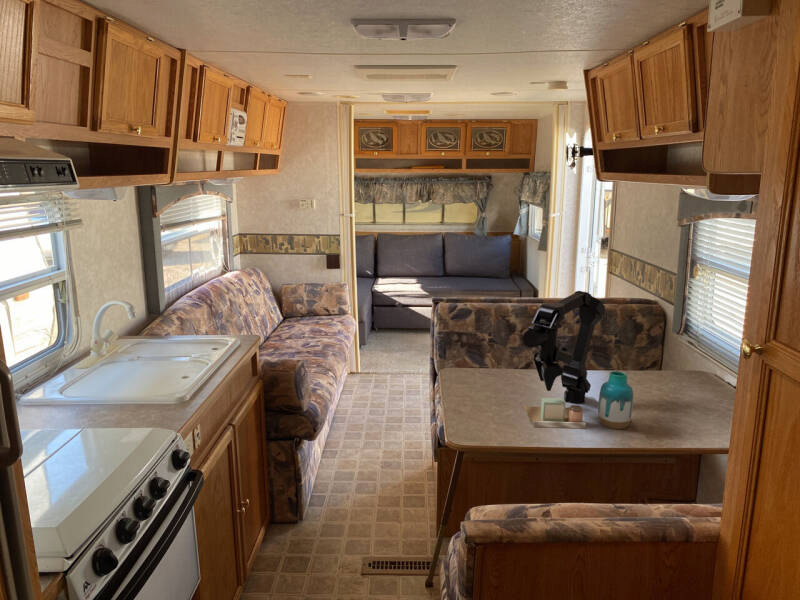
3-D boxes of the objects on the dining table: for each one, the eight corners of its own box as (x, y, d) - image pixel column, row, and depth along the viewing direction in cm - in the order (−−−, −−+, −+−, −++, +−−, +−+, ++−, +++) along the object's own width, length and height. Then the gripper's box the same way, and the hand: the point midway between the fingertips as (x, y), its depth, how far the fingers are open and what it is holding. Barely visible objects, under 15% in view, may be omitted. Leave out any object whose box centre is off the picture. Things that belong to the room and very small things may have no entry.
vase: (612, 419, 200) (617, 366, 196) (637, 431, 191) (643, 376, 187) (589, 424, 196) (594, 370, 191) (613, 437, 186) (619, 380, 182)
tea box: (542, 422, 193) (544, 402, 192) (540, 417, 197) (541, 397, 196) (563, 422, 193) (565, 403, 192) (561, 417, 197) (562, 398, 196)
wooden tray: (572, 411, 206) (572, 403, 205) (584, 432, 189) (585, 423, 189) (523, 410, 206) (524, 401, 206) (532, 431, 190) (533, 421, 189)
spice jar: (579, 421, 195) (581, 404, 193) (583, 426, 190) (584, 410, 189) (566, 420, 195) (567, 404, 193) (569, 426, 190) (571, 409, 189)
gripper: (580, 350, 185) (577, 396, 189) (564, 334, 203) (561, 376, 207) (545, 350, 185) (542, 396, 189) (532, 334, 203) (530, 376, 207)
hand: (545, 385), depth 198 cm, fingers open, 9 cm apart
